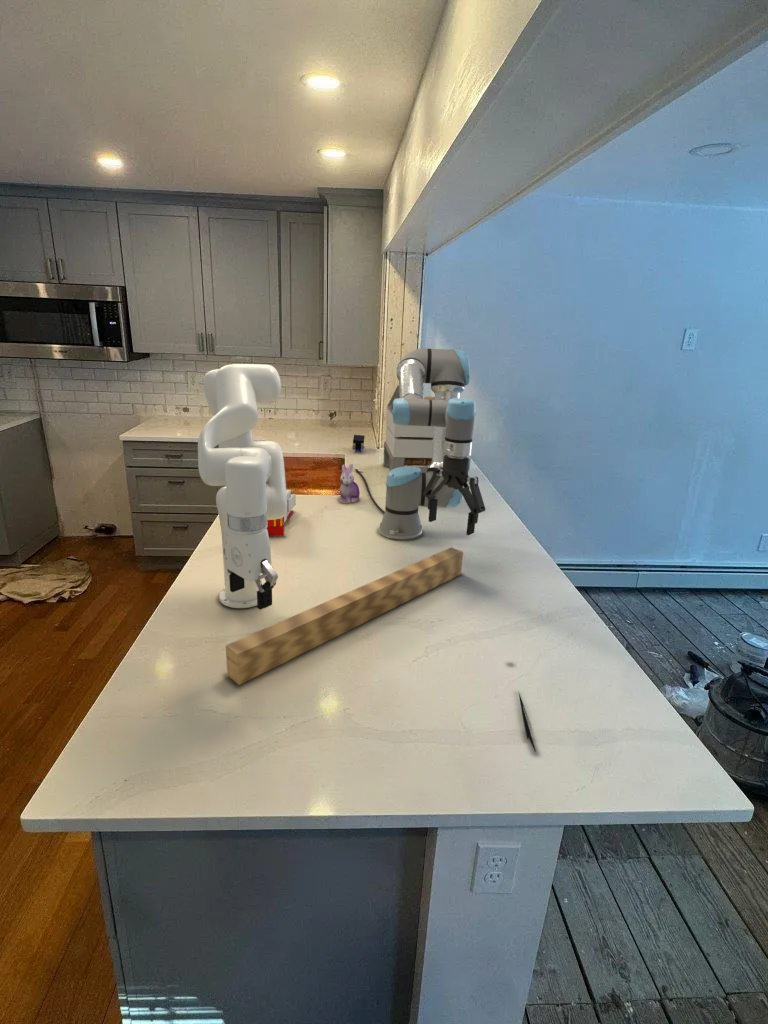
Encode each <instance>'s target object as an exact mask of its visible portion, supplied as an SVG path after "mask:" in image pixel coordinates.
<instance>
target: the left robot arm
mask: <svg viewBox="0 0 768 1024" xmlns="http://www.w3.org/2000/svg"><path fill="white" fill-rule="evenodd" d="M202 383H203V390H204V395H205V399H206V402H207V404H208V407H209V409H210V411H211V413H212V417H211V418H210V419H209V420H208V421H207V422H206V424H205V425H204V426H203V428H202V429H201V431H200V432H199V436H198V439H197V466H198V473H199V477H200V479H201V481H202V482H203V483H204V484H205V485H207V486H210V487H220V489H218V491H216V492H217V493H216V495H215V504H216V510H217V514H218V518H219V525H220V534H221V544H222V547H221V548H222V561H223V563H222V564H223V578H224V579H223V580H224V588H223V589H222V590H220V592H219V595H218V598H219V601H220V603H221V604H222V605H223V606H226V607H228V608H231V609H248V608H253V607H256V606H257V607H256V608H257V609H258V610H264V609H266V608H268V607H271V606H272V605H273V589H275V586H276V584H277V581H278V578H279V575H278V573H277V572H276V570H275V569H274V568H273V567H272V552H271V542H270V536H268V531H267V520H273V519H280V518H282V517H284V516H285V514H286V512H287V493H286V490H287V482H286V481H287V480H286V470H285V458H284V453H283V450H282V448H281V445H280V444H279V443H278V442H276V441H272V440H254V439H253V438H254V437H253V430H252V429H254V427H255V426H256V425H257V423H258V420H259V412H258V411H259V410H258V405H259V404H261V405H264V404H265V405H267V404H274V403H276V402H277V401H278V400H279V399H280V396H281V393H282V381H281V376H280V374H279V372H278V370H277V369H276V368H275V367H274V366H273V365H271V364H261V363H260V364H259V363H232V364H226V365H224V366H222V367H221V368H217V369H212V370H209V371H207V372H206V373H205V375H204V377H203V381H202ZM217 446H218V447H217ZM263 579H264V580H265V582H264V583H262V580H263Z"/></svg>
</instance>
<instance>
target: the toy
mask: <svg viewBox="0 0 768 1024" xmlns="http://www.w3.org/2000/svg"><path fill="white" fill-rule="evenodd" d="M286 493H287V512H286V514H285V516H284V517H282V518H280V519H273V520H267V531H268V536H269V537H285V522H286V521H287V520H289V519H290V518H291V516H292V515H293V513H294V510H293V509H294V507H296V505H297V499H296V495H297V494H296V493H293V494H292V490H291V489H286Z"/></svg>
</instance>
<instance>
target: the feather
mask: <svg viewBox="0 0 768 1024" xmlns="http://www.w3.org/2000/svg"><path fill="white" fill-rule="evenodd" d="M517 692H518V696H519V702H520V707H521V714H522V721H523V724H524V730H525V736H526V740H529V741H530V743H531V745H532V747H533V750H534V752H535V753H536V752H537V750H536V748H535V743H534V740H533V738H535V735H534V734H535V733H534V729H533V728H532V726H531V725H532V724H531V721H530V718H529V715H528V714H527V710H526V707H525V705H524V702H523V699H522V697H521V694H520V691H517ZM529 726H530V727H529ZM531 733H532V734H531ZM532 736H533V737H532Z"/></svg>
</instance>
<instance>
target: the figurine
mask: <svg viewBox="0 0 768 1024" xmlns="http://www.w3.org/2000/svg"><path fill="white" fill-rule="evenodd" d="M353 469H354V464H353V463H351V464H350V465H348V467H347V466H346V464H342V465H341V471H342V472H341V475H340V477H339V481H340V483H341V484H340V487H339V497H338V498H339V502H340V503H342V504H351V503H356V502H358V501H359V499H360V495H361V494H360V492H361V491H360V487H359V485H358V484H357V482H355V481H354V480H355V477H354V475H353V473H352V472H353Z"/></svg>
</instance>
